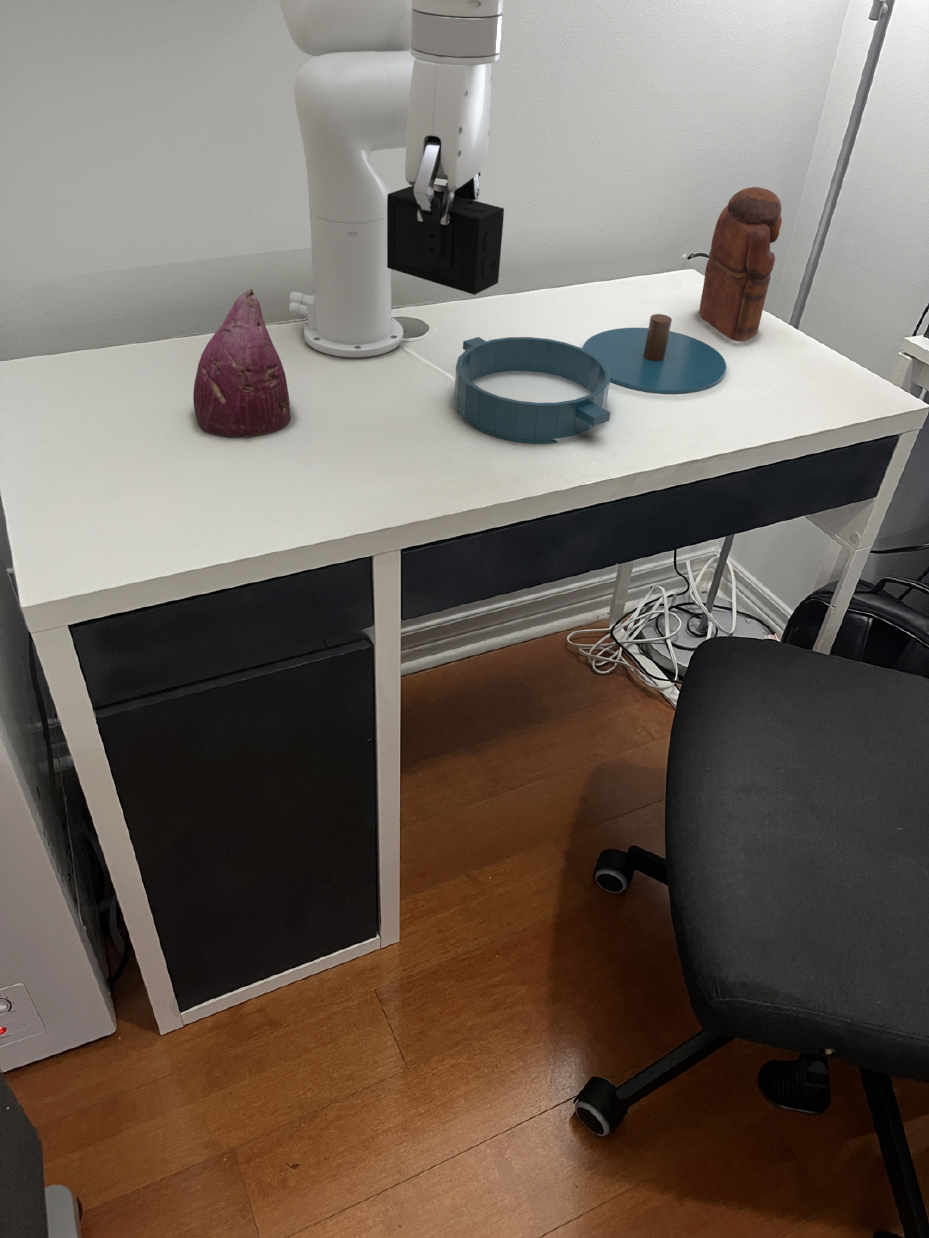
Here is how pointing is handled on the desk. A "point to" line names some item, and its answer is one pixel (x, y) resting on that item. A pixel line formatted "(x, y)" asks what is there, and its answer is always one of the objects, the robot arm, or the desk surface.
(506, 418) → the tin
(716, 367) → the tin lid
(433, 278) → the digital camera
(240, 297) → the vegetable
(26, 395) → the desk surface
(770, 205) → the wooden figurine
